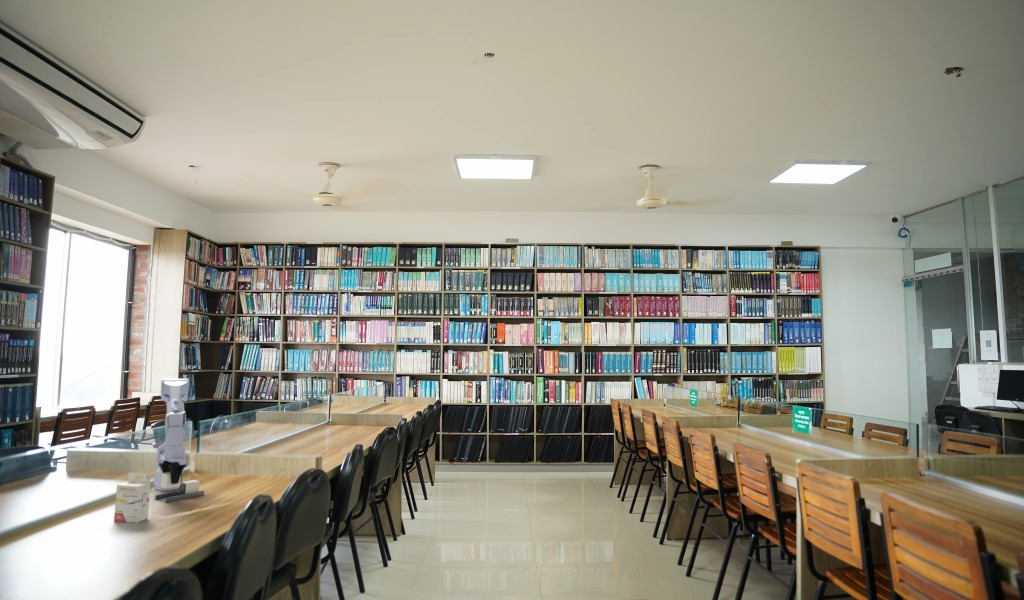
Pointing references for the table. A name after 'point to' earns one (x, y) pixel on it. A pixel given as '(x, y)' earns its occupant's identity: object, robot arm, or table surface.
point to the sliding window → (177, 496)
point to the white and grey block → (189, 487)
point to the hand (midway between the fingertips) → (171, 482)
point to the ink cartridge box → (132, 499)
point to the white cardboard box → (169, 481)
